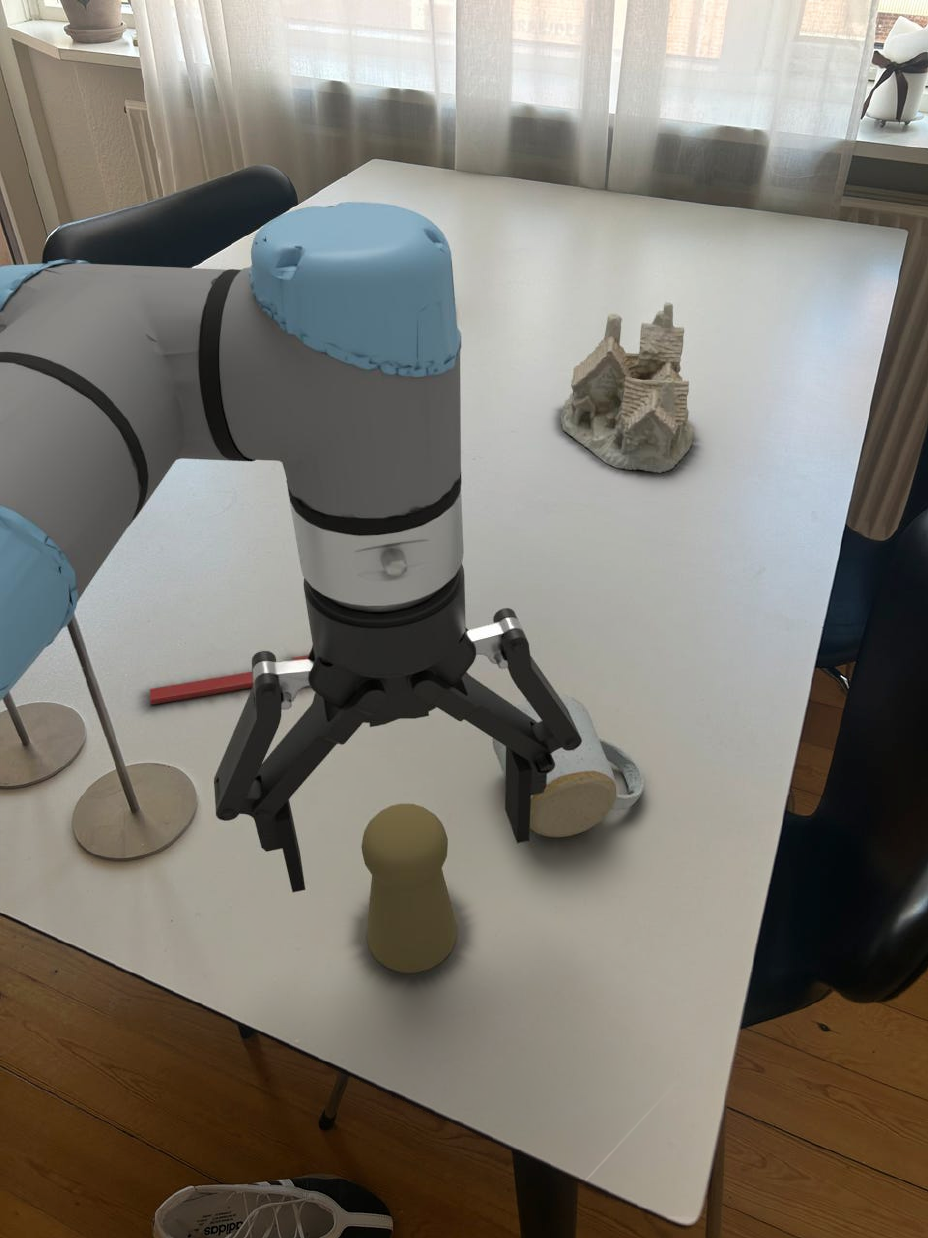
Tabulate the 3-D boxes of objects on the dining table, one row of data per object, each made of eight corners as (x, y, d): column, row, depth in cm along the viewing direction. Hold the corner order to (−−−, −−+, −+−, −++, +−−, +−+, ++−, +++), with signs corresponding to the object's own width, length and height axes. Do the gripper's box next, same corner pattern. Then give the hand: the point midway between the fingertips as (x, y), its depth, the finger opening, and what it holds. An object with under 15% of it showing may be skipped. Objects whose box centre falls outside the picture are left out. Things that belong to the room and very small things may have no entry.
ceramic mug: (522, 855, 69) (528, 784, 64) (489, 770, 75) (492, 699, 70) (659, 824, 71) (675, 752, 66) (617, 744, 77) (628, 673, 72)
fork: (151, 712, 80) (149, 707, 80) (151, 686, 82) (149, 681, 82) (399, 669, 84) (399, 664, 83) (393, 645, 86) (392, 640, 86)
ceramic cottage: (573, 392, 123) (585, 279, 112) (702, 419, 118) (726, 303, 108) (536, 459, 112) (544, 340, 102) (675, 490, 108) (699, 369, 97)
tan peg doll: (347, 929, 64) (331, 825, 57) (417, 877, 67) (409, 772, 60) (405, 991, 61) (396, 889, 54) (476, 933, 64) (475, 829, 57)
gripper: (101, 667, 40) (201, 949, 53) (666, 570, 44) (625, 854, 58) (107, 562, 45) (196, 842, 59) (608, 485, 50) (583, 762, 63)
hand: (408, 848), depth 58 cm, fingers open, 13 cm apart
